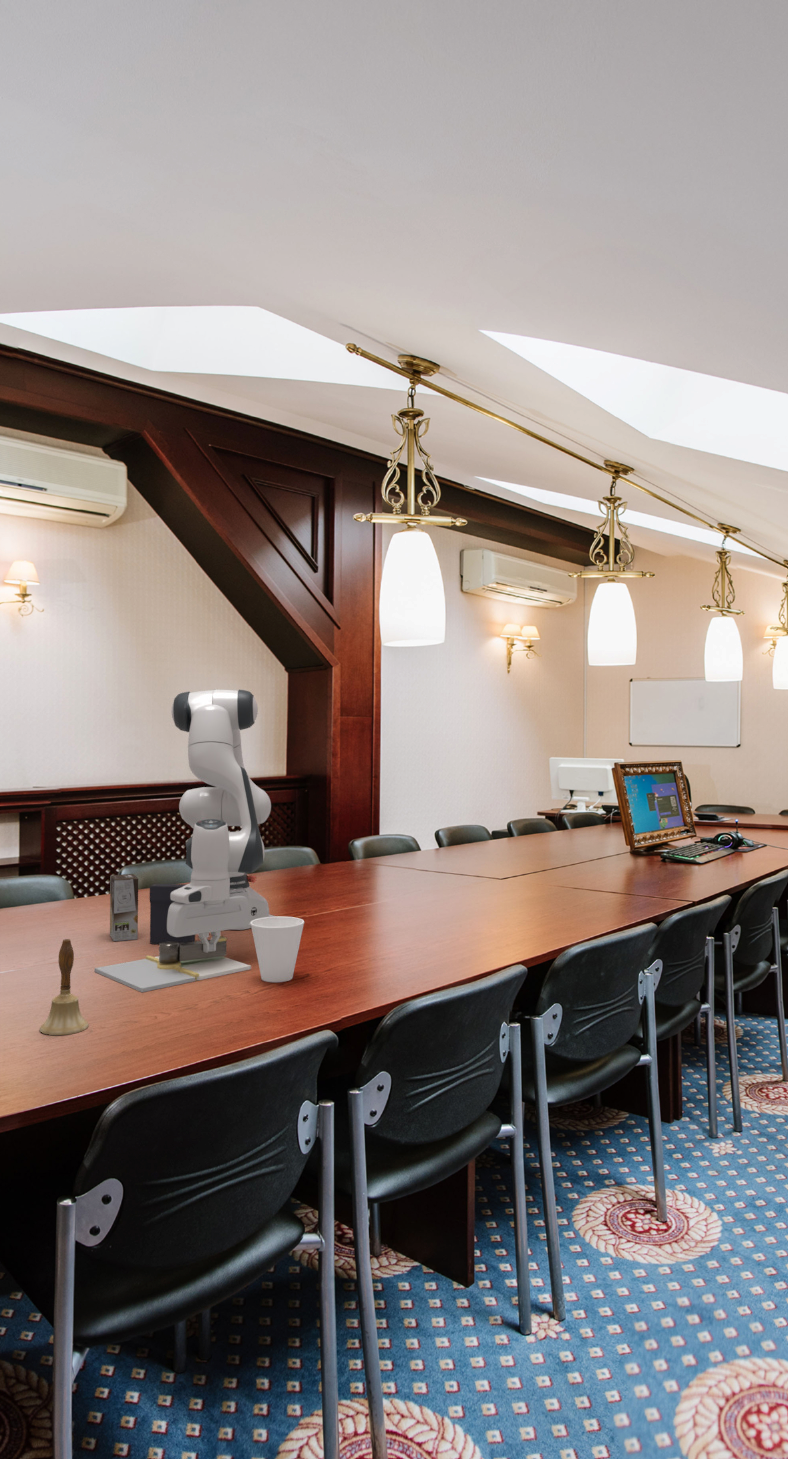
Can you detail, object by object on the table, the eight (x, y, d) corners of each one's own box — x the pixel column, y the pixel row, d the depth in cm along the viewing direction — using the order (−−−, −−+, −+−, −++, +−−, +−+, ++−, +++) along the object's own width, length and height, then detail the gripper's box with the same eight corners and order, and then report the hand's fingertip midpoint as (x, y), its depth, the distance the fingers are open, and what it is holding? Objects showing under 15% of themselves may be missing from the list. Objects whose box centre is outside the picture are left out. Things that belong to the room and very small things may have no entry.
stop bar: (162, 964, 194) (162, 946, 194) (156, 960, 198) (157, 942, 198) (227, 956, 201) (227, 938, 201) (221, 952, 205) (221, 935, 205)
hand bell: (94, 1020, 161) (95, 934, 161) (80, 1035, 153) (81, 945, 153) (49, 1021, 161) (50, 934, 161) (32, 1036, 152) (33, 945, 153)
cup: (294, 987, 184) (294, 928, 184) (241, 983, 186) (241, 925, 186) (310, 972, 195) (311, 917, 195) (260, 969, 198) (261, 915, 198)
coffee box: (138, 939, 227) (139, 878, 227) (113, 942, 224) (113, 879, 224) (133, 932, 235) (134, 873, 235) (108, 934, 232) (109, 874, 233)
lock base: (199, 952, 214) (199, 934, 214) (250, 969, 198) (251, 949, 198) (94, 971, 195) (94, 952, 195) (141, 992, 179) (142, 971, 179)
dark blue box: (196, 942, 225) (196, 884, 225) (190, 945, 220) (191, 886, 221) (155, 940, 226) (155, 883, 226) (148, 944, 221) (149, 885, 222)
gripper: (240, 885, 209) (240, 943, 208) (163, 893, 195) (162, 955, 194) (255, 888, 204) (255, 947, 204) (178, 896, 190) (177, 960, 190)
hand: (209, 951), depth 199 cm, fingers closed
